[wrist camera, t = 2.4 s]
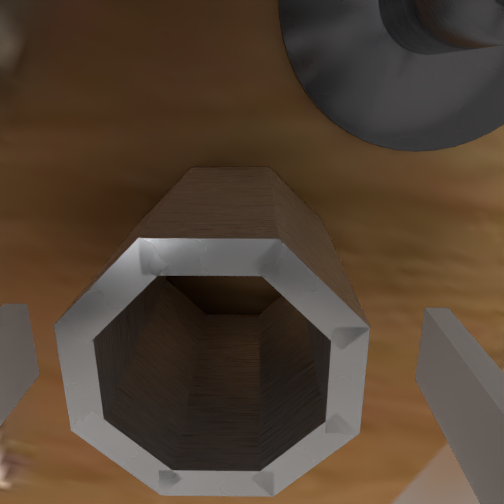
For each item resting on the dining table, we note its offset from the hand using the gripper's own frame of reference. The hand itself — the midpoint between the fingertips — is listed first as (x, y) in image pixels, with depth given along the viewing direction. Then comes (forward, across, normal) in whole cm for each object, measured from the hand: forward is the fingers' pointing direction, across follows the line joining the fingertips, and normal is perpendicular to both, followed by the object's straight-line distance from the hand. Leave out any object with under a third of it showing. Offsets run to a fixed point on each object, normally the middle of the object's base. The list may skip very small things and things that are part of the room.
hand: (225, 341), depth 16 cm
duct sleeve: (+7, 0, 0) cm, 7 cm away
